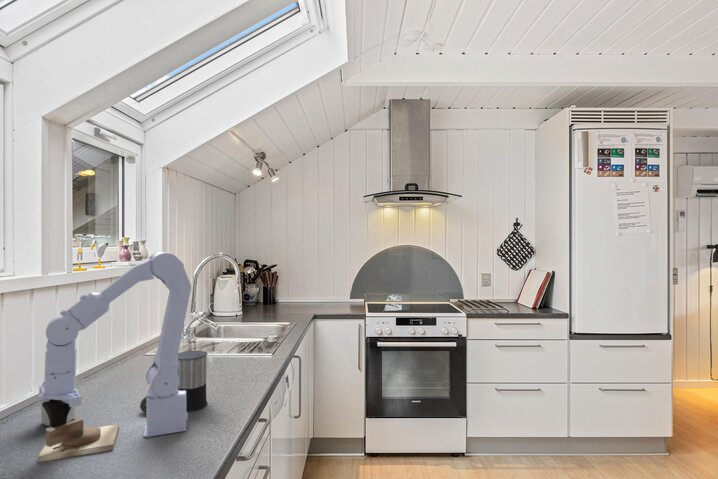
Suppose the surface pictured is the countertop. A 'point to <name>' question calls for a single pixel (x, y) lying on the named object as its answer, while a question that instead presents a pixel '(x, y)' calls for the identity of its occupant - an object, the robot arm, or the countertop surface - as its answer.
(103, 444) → the dial plate
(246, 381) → the countertop surface
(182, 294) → the robot arm
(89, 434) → the dial
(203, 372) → the milk frother
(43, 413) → the can
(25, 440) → the countertop surface
